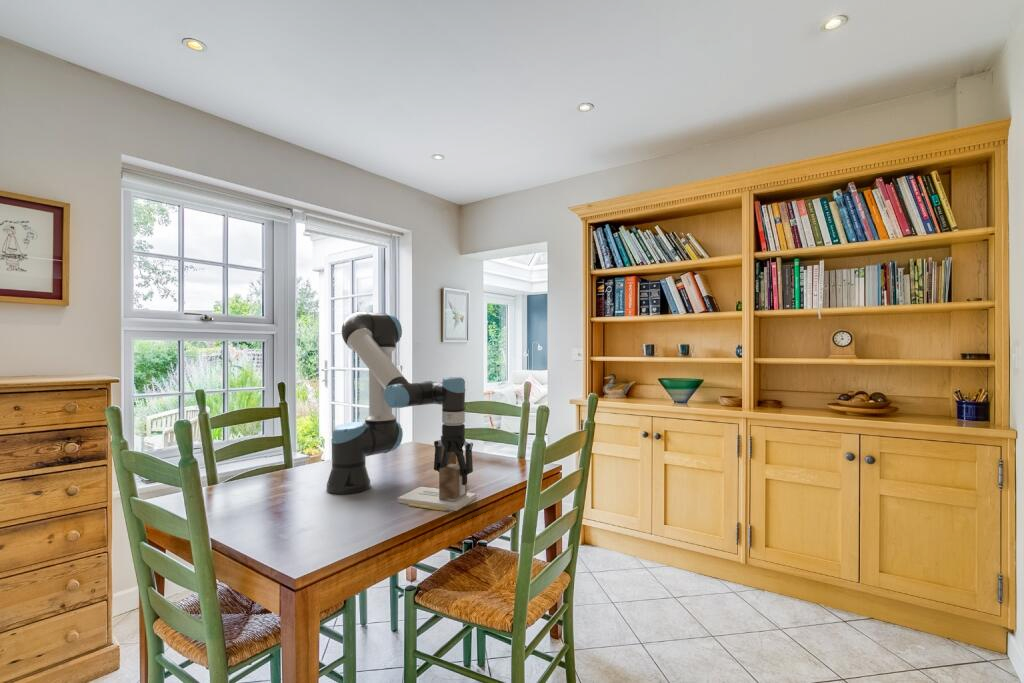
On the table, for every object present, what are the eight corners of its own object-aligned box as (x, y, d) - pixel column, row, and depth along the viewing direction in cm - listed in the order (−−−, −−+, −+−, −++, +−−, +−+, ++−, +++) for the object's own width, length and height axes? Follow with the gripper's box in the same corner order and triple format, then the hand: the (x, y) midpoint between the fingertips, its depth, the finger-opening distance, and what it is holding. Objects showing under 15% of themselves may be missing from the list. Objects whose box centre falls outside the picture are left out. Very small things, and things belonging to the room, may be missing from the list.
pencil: (408, 506, 158) (408, 503, 158) (409, 505, 159) (409, 503, 159) (448, 512, 153) (448, 509, 153) (449, 511, 154) (449, 508, 154)
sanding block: (439, 499, 160) (439, 469, 160) (450, 492, 167) (451, 463, 167) (455, 501, 158) (455, 470, 158) (466, 494, 165) (466, 465, 165)
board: (397, 502, 162) (397, 497, 162) (420, 491, 175) (420, 486, 175) (456, 510, 154) (456, 505, 154) (475, 498, 167) (475, 493, 167)
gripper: (422, 423, 163) (422, 493, 162) (474, 427, 156) (473, 499, 156) (434, 420, 170) (433, 487, 169) (484, 423, 163) (483, 493, 163)
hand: (453, 493), depth 163 cm, fingers closed on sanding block, 6 cm apart
